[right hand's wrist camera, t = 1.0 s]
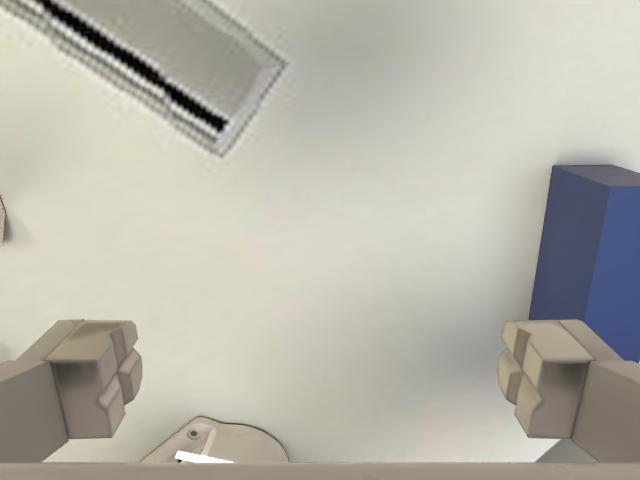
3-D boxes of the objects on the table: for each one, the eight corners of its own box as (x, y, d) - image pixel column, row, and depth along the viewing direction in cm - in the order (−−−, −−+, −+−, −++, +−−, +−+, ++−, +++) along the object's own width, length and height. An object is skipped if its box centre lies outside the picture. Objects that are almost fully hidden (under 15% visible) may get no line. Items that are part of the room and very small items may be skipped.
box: (552, 165, 48) (610, 187, 39) (612, 164, 48) (684, 186, 39) (525, 336, 55) (569, 390, 46) (577, 335, 55) (632, 390, 46)
